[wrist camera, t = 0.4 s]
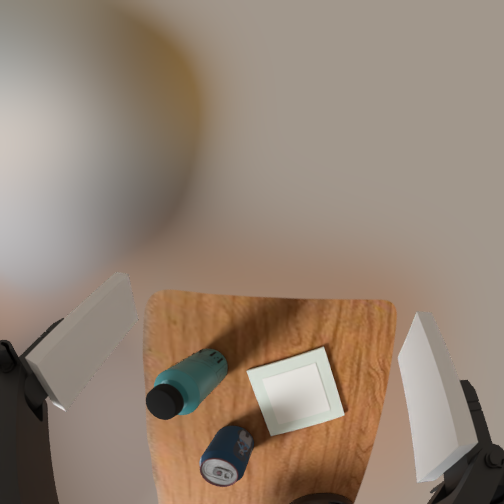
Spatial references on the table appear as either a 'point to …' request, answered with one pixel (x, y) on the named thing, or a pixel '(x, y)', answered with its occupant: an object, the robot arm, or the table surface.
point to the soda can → (227, 456)
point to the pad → (296, 392)
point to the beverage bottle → (186, 384)
